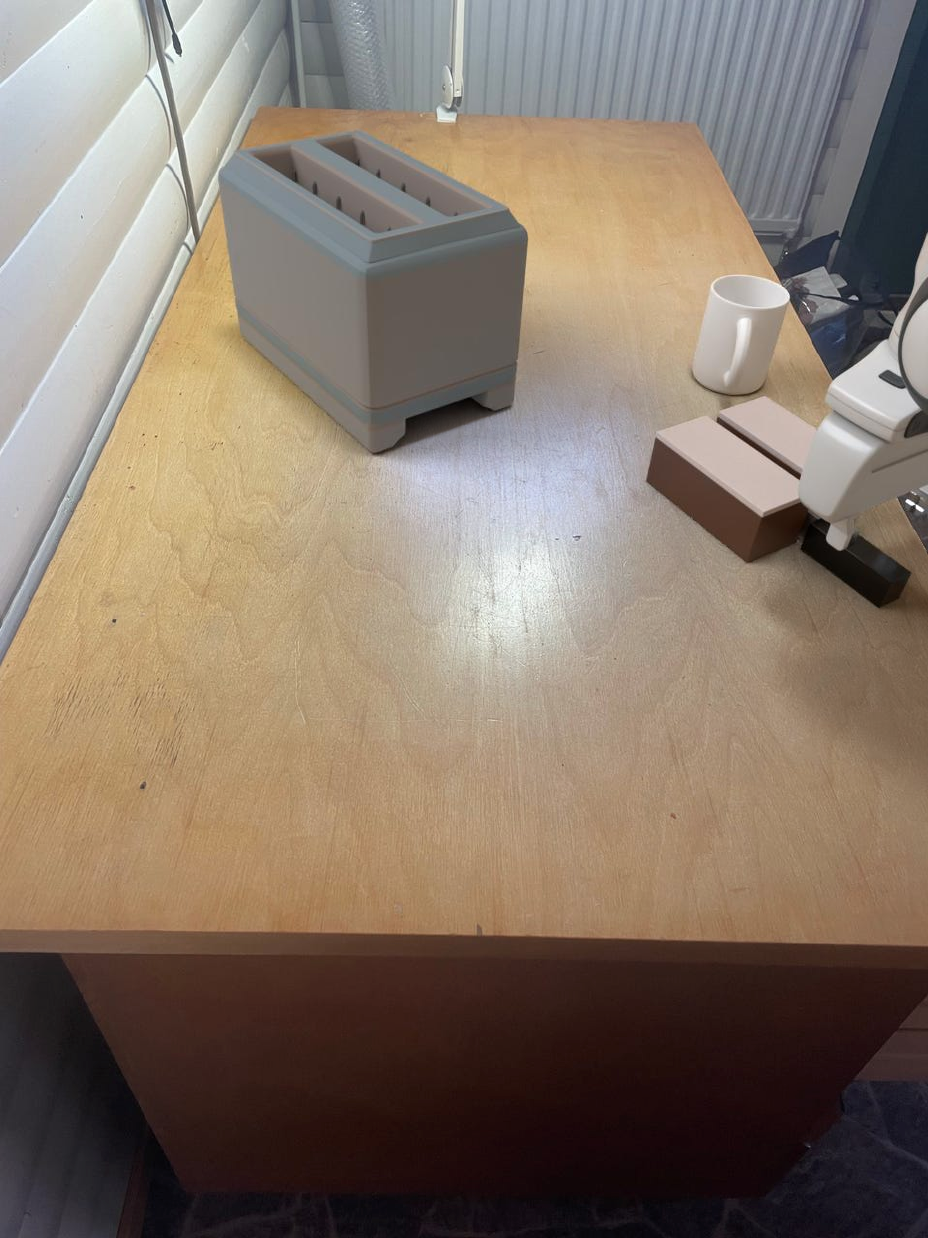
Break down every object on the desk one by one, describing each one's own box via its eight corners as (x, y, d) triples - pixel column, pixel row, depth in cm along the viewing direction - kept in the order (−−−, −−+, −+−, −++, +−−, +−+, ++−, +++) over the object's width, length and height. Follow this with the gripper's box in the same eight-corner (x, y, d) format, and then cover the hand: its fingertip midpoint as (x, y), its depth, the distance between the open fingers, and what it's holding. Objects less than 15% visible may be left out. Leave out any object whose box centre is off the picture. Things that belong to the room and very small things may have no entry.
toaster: (357, 290, 117) (350, 114, 102) (519, 406, 98) (537, 209, 83) (222, 325, 108) (194, 138, 94) (370, 459, 89) (362, 251, 75)
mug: (763, 419, 98) (791, 329, 91) (686, 407, 99) (707, 316, 92) (764, 366, 106) (789, 280, 99) (692, 355, 107) (712, 269, 100)
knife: (899, 598, 78) (912, 572, 76) (878, 609, 77) (891, 582, 75) (722, 467, 91) (729, 441, 89) (702, 474, 90) (709, 448, 88)
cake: (855, 516, 86) (876, 467, 82) (746, 563, 80) (763, 511, 76) (750, 443, 94) (765, 395, 90) (645, 480, 89) (656, 431, 85)
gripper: (995, 328, 72) (929, 474, 82) (812, 388, 64) (763, 542, 74) (1068, 361, 68) (990, 511, 78) (883, 430, 60) (822, 587, 70)
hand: (878, 527), depth 76 cm, fingers open, 8 cm apart
